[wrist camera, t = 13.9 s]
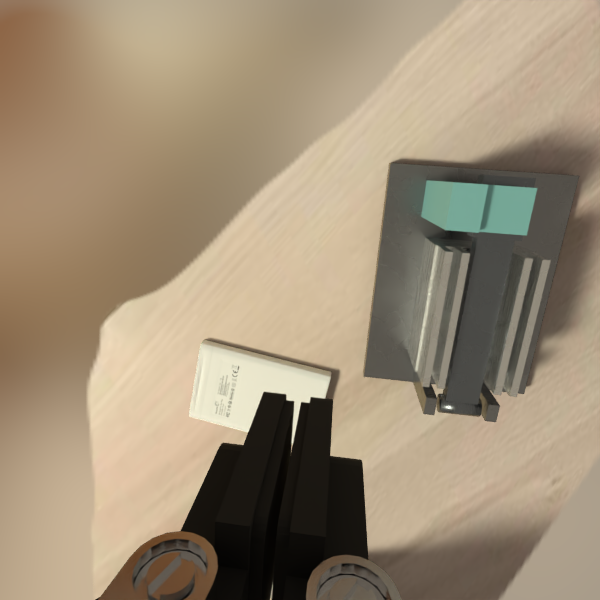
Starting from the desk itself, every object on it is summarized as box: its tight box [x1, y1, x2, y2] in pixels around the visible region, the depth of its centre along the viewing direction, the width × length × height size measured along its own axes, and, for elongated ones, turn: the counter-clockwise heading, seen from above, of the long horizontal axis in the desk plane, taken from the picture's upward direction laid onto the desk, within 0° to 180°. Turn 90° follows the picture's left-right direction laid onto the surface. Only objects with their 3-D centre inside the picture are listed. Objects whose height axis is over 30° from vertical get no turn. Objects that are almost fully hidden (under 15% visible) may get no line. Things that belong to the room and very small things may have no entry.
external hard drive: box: [189, 340, 331, 444], centre depth 40 cm, size 2×8×12 cm
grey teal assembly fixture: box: [363, 163, 579, 422], centre depth 32 cm, size 18×14×7 cm
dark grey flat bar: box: [437, 175, 536, 417], centre depth 30 cm, size 18×3×1 cm, turn 176°
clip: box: [421, 180, 537, 236], centre depth 29 cm, size 3×5×8 cm, turn 86°
